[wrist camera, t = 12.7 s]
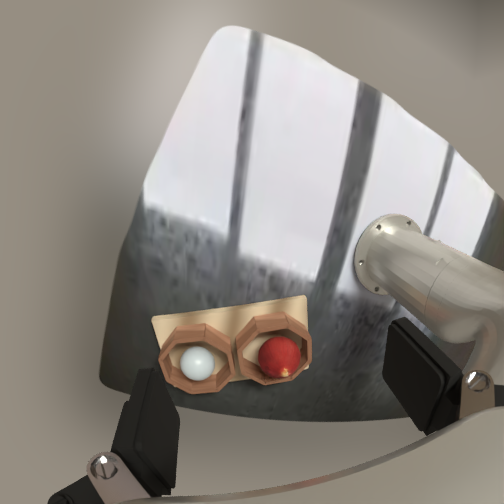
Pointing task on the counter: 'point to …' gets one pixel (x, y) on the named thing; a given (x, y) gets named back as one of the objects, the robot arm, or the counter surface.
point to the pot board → (232, 341)
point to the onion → (279, 357)
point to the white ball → (197, 363)
